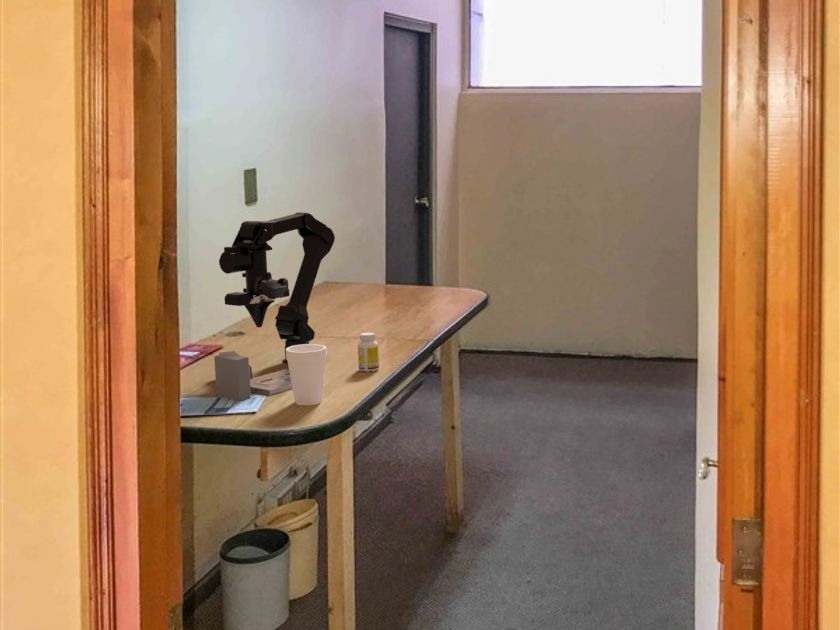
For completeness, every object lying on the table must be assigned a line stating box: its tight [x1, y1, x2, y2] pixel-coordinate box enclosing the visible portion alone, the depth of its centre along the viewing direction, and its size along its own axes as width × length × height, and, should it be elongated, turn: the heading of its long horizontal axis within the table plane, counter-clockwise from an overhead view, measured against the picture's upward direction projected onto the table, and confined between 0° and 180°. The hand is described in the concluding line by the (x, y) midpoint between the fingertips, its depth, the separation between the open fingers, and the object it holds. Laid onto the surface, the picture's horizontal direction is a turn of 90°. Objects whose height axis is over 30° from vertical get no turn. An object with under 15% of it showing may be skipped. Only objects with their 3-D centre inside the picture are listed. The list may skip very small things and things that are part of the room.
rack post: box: [213, 354, 252, 402], centre depth 252 cm, size 4×8×10 cm, turn 53°
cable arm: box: [218, 350, 253, 394], centre depth 264 cm, size 22×4×7 cm, turn 21°
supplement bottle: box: [357, 332, 380, 373], centre depth 277 cm, size 5×5×10 cm
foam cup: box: [286, 343, 328, 406], centre depth 245 cm, size 10×9×13 cm
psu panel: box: [250, 368, 293, 396], centre depth 265 cm, size 18×13×2 cm
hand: (259, 327), depth 278 cm, fingers closed
